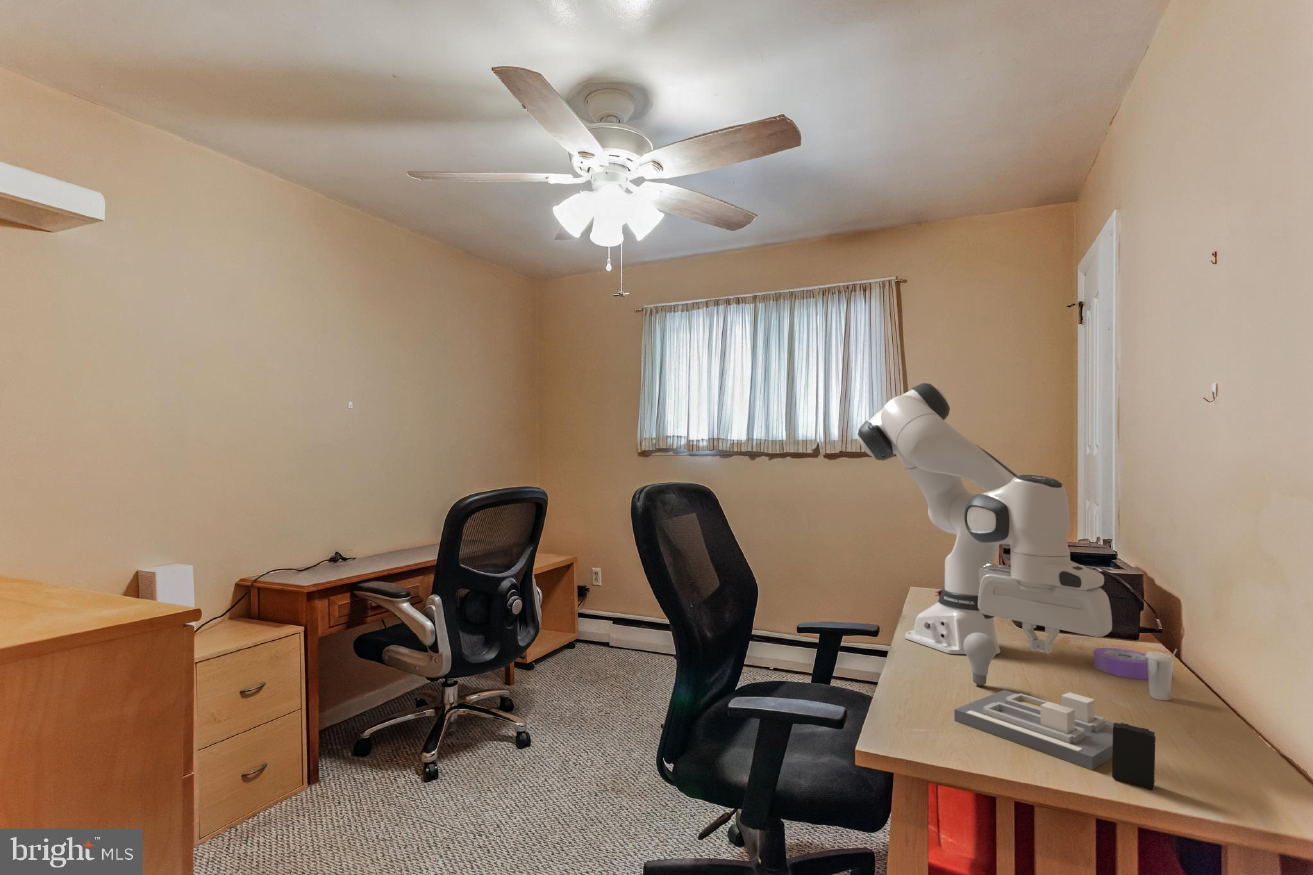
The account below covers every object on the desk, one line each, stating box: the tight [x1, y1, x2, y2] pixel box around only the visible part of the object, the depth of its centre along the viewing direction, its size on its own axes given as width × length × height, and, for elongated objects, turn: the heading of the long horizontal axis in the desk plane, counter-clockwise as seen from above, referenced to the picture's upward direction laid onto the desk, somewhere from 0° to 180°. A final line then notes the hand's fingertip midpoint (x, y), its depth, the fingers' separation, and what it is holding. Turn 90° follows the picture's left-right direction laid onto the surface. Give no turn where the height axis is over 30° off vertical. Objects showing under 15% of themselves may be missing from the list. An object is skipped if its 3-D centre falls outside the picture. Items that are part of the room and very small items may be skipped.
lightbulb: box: [963, 633, 996, 687], centre depth 134 cm, size 6×6×11 cm
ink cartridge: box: [1111, 722, 1157, 791], centre depth 94 cm, size 5×2×8 cm, turn 50°
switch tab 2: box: [1060, 692, 1096, 723], centre depth 111 cm, size 4×3×4 cm
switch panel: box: [953, 689, 1114, 771], centre depth 112 cm, size 22×18×3 cm
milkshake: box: [1145, 648, 1178, 701], centre depth 129 cm, size 4×5×10 cm
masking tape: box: [1093, 647, 1148, 680], centre depth 146 cm, size 12×12×4 cm
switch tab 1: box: [1041, 701, 1075, 734], centre depth 106 cm, size 4×3×4 cm
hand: (1040, 650), depth 109 cm, fingers closed
